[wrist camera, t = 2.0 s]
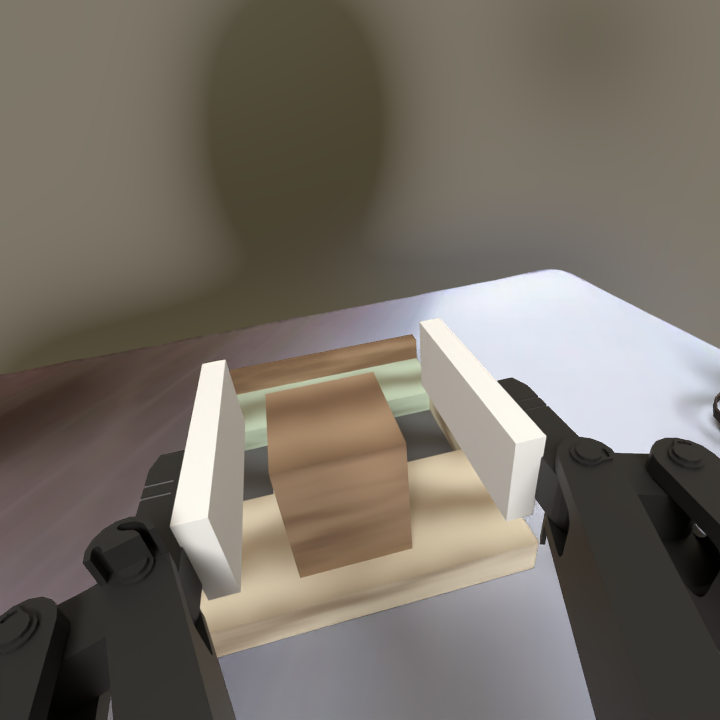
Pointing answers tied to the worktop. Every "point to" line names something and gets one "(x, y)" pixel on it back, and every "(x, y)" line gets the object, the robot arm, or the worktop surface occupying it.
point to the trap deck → (379, 575)
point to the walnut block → (338, 473)
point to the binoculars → (717, 413)
